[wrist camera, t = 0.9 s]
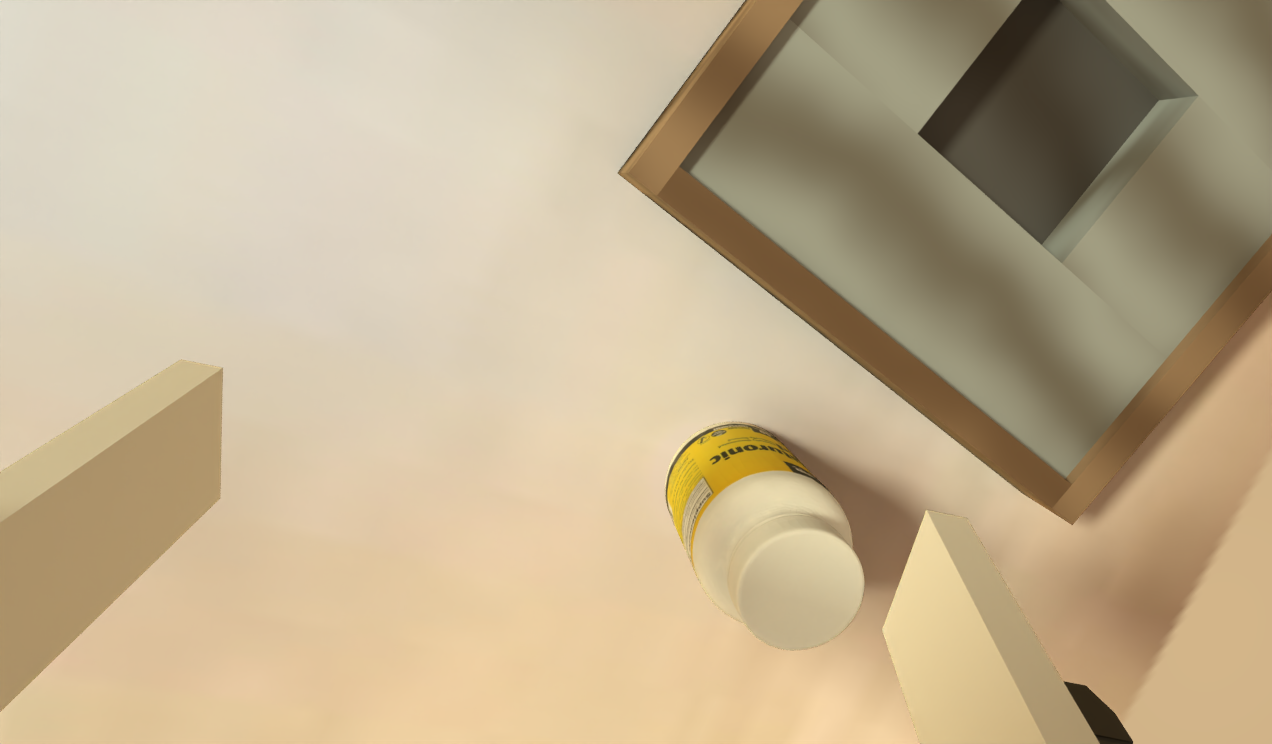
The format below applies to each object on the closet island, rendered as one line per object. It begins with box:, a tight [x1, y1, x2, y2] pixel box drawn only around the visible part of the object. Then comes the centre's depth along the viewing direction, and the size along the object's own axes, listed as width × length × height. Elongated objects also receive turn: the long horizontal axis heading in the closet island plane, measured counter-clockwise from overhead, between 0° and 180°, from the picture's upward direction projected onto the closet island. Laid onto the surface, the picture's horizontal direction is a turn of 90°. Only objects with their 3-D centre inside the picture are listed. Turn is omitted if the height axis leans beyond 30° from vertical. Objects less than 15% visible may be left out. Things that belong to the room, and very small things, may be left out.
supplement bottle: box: [665, 422, 865, 651], centre depth 30 cm, size 5×5×10 cm
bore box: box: [618, 0, 1272, 525], centre depth 31 cm, size 22×22×4 cm
